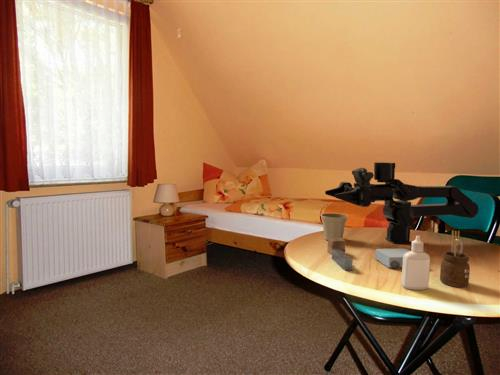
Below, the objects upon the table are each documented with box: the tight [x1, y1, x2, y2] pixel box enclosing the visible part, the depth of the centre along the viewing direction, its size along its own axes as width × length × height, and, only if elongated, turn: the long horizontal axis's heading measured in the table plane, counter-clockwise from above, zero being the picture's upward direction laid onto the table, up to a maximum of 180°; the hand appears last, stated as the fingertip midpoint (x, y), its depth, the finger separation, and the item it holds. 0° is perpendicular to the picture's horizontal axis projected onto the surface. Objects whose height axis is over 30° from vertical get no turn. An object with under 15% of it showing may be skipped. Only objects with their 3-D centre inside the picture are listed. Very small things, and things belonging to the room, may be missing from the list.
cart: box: [374, 248, 410, 270], centre depth 97 cm, size 9×10×3 cm
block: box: [327, 238, 346, 256], centre depth 106 cm, size 4×4×4 cm
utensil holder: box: [439, 230, 471, 288], centre depth 83 cm, size 6×6×12 cm
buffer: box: [331, 249, 354, 271], centre depth 96 cm, size 2×10×3 cm, turn 6°
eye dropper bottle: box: [401, 235, 431, 291], centre depth 80 cm, size 4×6×12 cm
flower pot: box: [320, 212, 349, 241], centre depth 123 cm, size 9×9×9 cm
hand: (330, 194), depth 117 cm, fingers open, 9 cm apart
